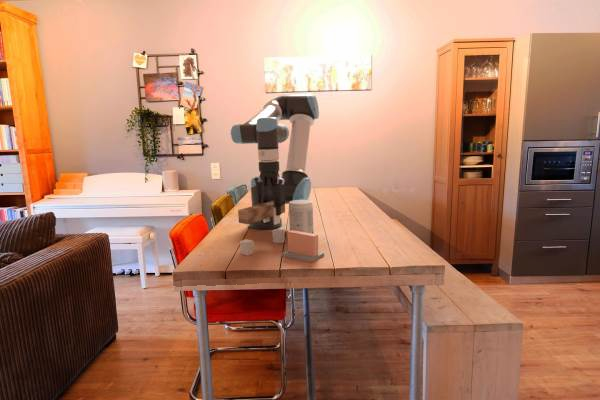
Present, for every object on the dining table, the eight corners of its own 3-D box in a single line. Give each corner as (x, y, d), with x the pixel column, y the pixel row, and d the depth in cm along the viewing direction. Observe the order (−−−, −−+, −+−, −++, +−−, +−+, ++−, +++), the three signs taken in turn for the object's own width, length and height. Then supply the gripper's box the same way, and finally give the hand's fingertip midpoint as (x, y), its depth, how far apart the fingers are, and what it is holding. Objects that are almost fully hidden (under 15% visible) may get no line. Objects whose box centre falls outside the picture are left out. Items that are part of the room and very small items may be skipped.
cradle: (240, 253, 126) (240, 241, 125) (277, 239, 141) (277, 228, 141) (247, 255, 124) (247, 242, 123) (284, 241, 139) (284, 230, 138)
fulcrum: (281, 255, 122) (281, 233, 121) (296, 249, 128) (295, 228, 127) (310, 262, 115) (310, 238, 114) (324, 255, 121) (323, 232, 120)
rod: (248, 224, 122) (247, 211, 121) (238, 222, 125) (238, 210, 124) (285, 212, 137) (284, 200, 137) (276, 211, 140) (275, 199, 139)
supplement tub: (306, 233, 150) (306, 198, 148) (317, 238, 142) (317, 202, 139) (285, 236, 146) (284, 200, 144) (295, 242, 138) (294, 204, 135)
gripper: (244, 161, 133) (248, 221, 137) (280, 162, 122) (283, 228, 127) (258, 159, 139) (261, 217, 143) (294, 160, 128) (296, 223, 133)
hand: (271, 222), depth 135 cm, fingers closed on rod, 4 cm apart
